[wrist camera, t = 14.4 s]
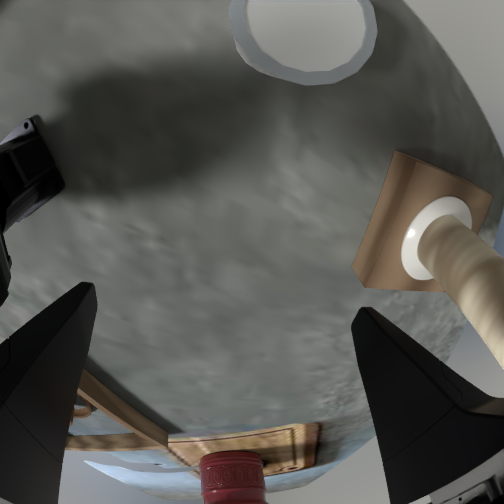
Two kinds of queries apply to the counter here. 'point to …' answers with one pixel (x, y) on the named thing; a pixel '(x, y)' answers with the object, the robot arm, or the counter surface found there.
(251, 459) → the canister
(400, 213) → the walnut plinth
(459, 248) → the birch pillar
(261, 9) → the white short cylinder
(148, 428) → the oak tray rim
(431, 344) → the counter surface
